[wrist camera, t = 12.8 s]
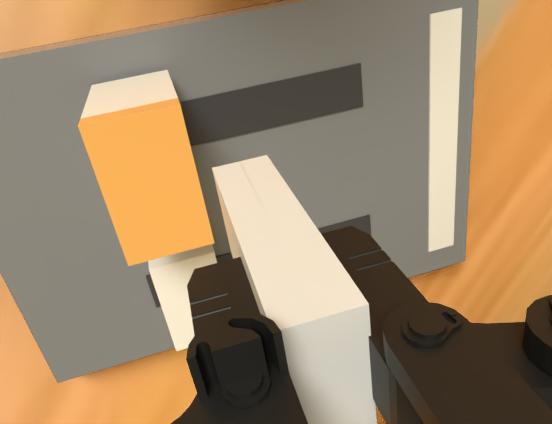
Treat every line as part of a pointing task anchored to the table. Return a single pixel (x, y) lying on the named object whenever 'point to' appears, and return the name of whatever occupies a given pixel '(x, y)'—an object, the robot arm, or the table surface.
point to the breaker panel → (235, 154)
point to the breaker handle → (145, 166)
